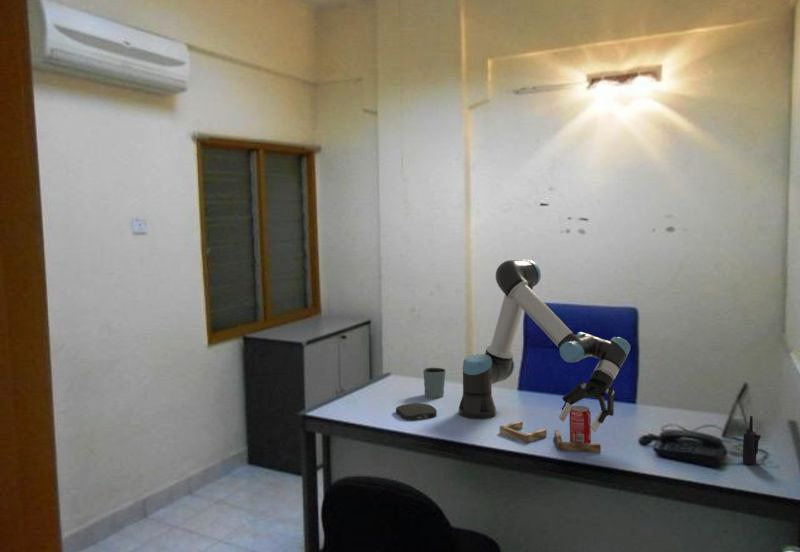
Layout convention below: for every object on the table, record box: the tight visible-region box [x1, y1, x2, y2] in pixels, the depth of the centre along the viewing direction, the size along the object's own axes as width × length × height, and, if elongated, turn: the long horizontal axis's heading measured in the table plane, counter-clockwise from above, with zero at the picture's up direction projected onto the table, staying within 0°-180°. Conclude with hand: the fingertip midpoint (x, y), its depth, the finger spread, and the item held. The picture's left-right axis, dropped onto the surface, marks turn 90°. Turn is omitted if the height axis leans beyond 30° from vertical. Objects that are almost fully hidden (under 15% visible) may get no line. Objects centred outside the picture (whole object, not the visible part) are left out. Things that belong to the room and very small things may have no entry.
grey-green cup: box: [422, 367, 447, 399], centre depth 274 cm, size 10×10×12 cm
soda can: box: [568, 405, 592, 443], centre depth 210 cm, size 7×7×13 cm
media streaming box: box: [395, 402, 438, 421], centre depth 247 cm, size 15×15×3 cm
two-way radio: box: [742, 415, 762, 465], centre depth 192 cm, size 6×4×15 cm
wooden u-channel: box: [499, 420, 547, 444], centre depth 221 cm, size 11×13×2 cm
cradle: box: [554, 429, 602, 453], centre depth 208 cm, size 10×20×2 cm, turn 36°
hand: (576, 424), depth 210 cm, fingers open, 13 cm apart
